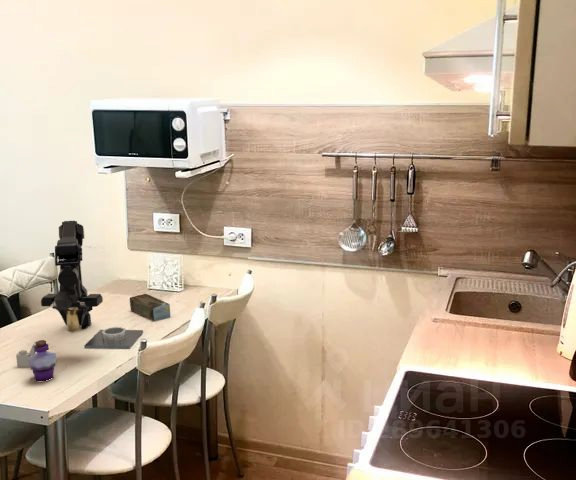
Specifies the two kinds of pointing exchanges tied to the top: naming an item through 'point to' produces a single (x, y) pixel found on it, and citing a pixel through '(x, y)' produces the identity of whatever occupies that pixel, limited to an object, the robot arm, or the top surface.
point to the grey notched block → (24, 357)
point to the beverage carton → (150, 307)
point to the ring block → (114, 338)
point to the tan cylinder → (73, 319)
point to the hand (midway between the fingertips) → (74, 324)
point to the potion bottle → (42, 361)
